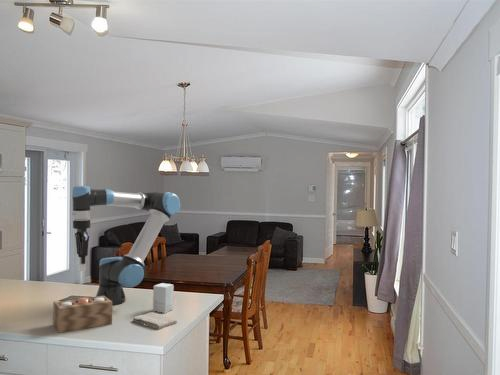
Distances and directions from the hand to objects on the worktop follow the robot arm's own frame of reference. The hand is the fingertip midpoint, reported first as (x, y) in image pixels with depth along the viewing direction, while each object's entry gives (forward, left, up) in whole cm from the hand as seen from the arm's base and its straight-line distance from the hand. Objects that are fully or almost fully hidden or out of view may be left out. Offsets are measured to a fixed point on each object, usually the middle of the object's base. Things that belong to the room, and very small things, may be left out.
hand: (82, 270), depth 210 cm
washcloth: (-26, +24, -22) cm, 42 cm away
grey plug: (+9, +11, -20) cm, 25 cm away
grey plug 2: (-5, +11, -20) cm, 24 cm away
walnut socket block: (+2, +11, -22) cm, 24 cm away
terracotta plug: (+2, +11, -19) cm, 22 cm away
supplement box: (-37, +9, -22) cm, 44 cm away
